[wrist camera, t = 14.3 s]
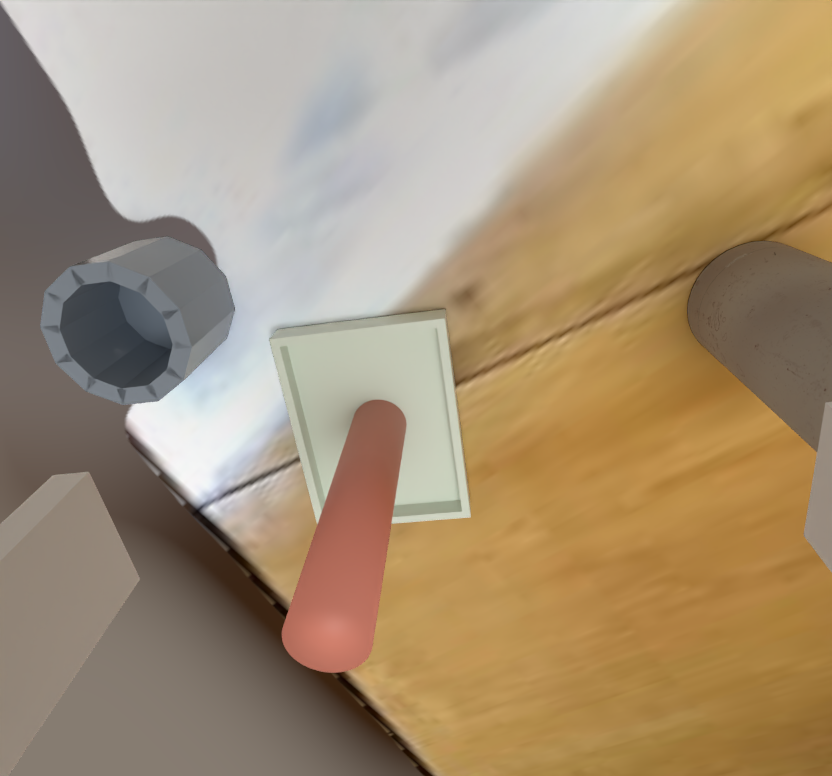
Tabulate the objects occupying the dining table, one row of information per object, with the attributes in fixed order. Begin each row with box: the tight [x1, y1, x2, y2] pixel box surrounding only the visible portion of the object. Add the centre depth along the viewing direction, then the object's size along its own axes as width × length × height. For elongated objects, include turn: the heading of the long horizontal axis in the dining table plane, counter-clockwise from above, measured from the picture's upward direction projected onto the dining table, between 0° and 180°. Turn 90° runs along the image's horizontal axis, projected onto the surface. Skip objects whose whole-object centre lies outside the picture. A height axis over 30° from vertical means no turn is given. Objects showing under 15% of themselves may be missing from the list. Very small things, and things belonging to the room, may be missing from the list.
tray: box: [269, 309, 471, 525], centre depth 44 cm, size 16×12×2 cm
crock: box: [40, 236, 235, 405], centre depth 38 cm, size 9×9×8 cm
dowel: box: [282, 400, 407, 672], centre depth 35 cm, size 4×4×20 cm
